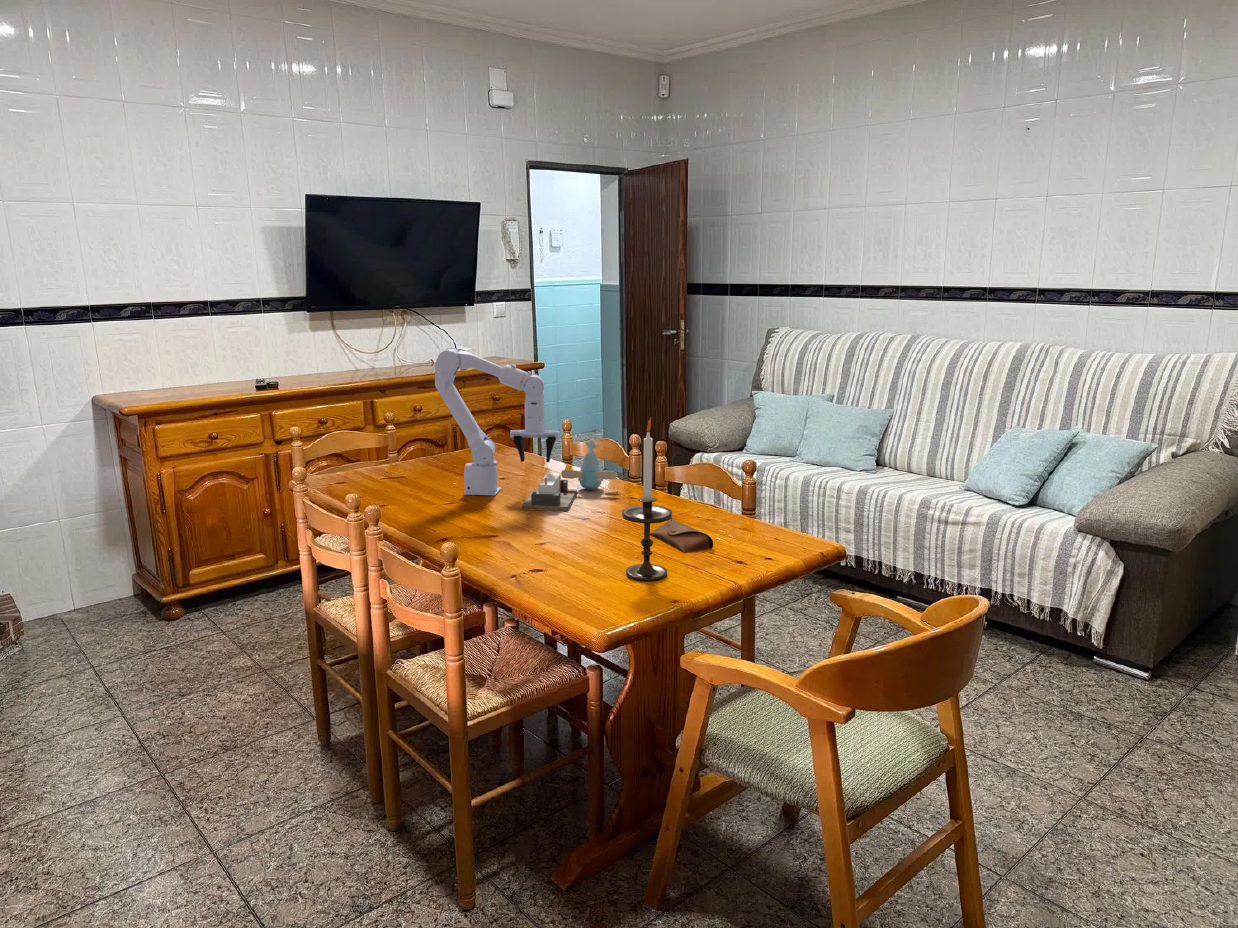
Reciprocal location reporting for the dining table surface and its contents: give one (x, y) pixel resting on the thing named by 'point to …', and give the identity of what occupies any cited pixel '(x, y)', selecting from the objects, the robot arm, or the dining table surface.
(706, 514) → the dining table surface
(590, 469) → the toy figure
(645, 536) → the candlestick
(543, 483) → the white rectangular block
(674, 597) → the dining table surface
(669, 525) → the sunglasses case
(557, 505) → the cradle jig
